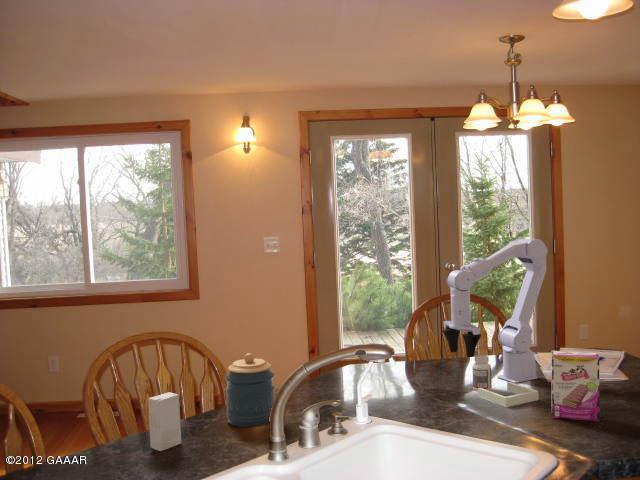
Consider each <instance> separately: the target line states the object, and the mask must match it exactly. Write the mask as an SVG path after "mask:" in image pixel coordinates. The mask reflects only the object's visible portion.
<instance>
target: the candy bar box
mask: <svg viewBox="0 0 640 480" xmlns="http://www.w3.org/2000/svg"><path fill="white" fill-rule="evenodd" d="M550 354H551V356H550V357H551V359H550V360H551V361H550V362H551V368H550V369H551V377H550V378H551V389H550V391H551V417H552V419H561V420H571V421H574V420H575V421H583V422H584V421H586V422H598V423H599V422H600V357H599V353H598V352H583V351H582V352H581V351H566V350H565V351H563V350H551V353H550Z"/></svg>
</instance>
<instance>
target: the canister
mask: <svg viewBox="0 0 640 480" xmlns="http://www.w3.org/2000/svg"><path fill="white" fill-rule="evenodd" d="M243 357H244V358H243V359H238V360H235V361H233V362H232V363H231V364H230V365H228V367H227V370H228V371H229V372H228V373H227V374H226V375H224V380H225V381H226V382H227V385H226V388H225V393H226V394H225V395H226V412H225V413H226V419H227V422H228V423H229V424H230V425H232V426H235V427H238V428H239V427H240V428H251V427H253V428H254V427H260V426H264V425H268V424H270V423H269V417H270V412H271V408H272V405H273V402H274V400H275V401H276V397H275V396H276V395H275V394H276V393H275V389H276V386H275V384H274V380H273V378H274V377H275V372H274V371H273V370H271V368H272V364H271V363H269V362H268V361H266V360H265V359H263V358H255V356H254V354H253V353H250V352H249V353H246V354H245V355H244V356H243Z"/></svg>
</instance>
